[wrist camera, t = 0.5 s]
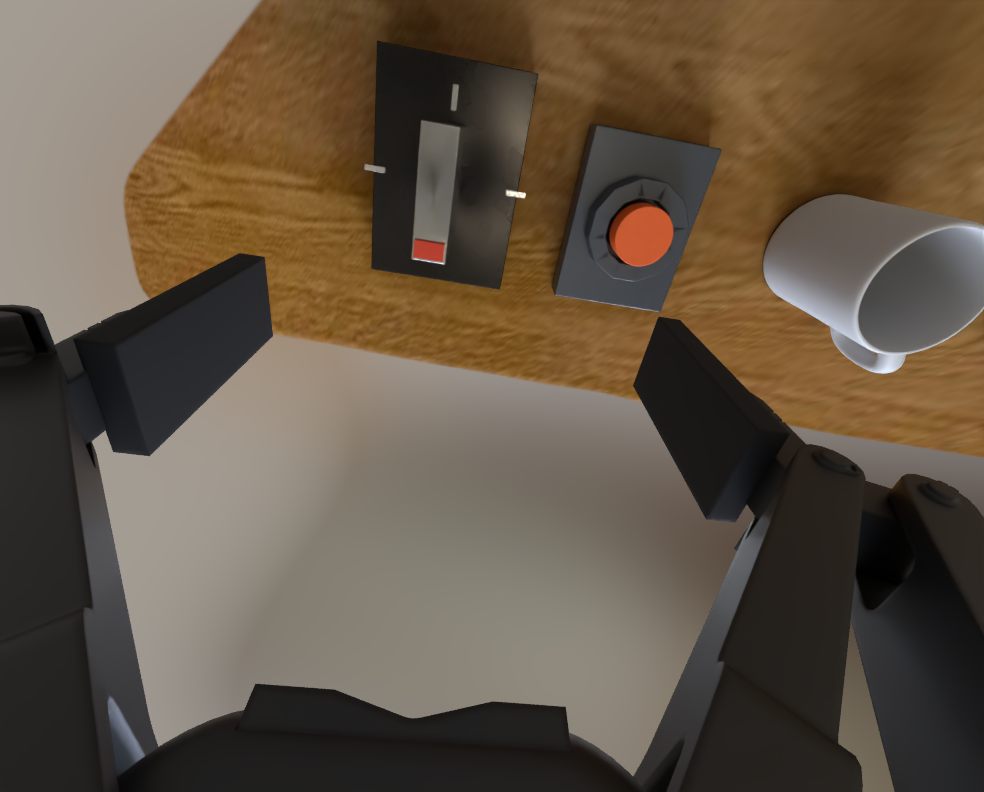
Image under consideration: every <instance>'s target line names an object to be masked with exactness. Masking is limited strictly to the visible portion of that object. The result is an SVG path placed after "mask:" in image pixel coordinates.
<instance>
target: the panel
mask: <svg viewBox="0 0 984 792" xmlns="http://www.w3.org/2000/svg"><path fill="white" fill-rule="evenodd" d="M537 79H538V74H537V73H532V72H528V71H523V70H518V69H513V68H508V67H503V66H498V65H493V64H489V63H484V62H479V61H474V60H469V59H464V58H459V57H454V56H450V55H445V54H440V53H435V52H430V51H425V50H420V49H415V48H411V47H406V46H401V45H396V44H391V43H386V42H381V41H377V64H376V105H375V145H374V165H369V164H364V170H369V171H374V186H373V227H372V267H371V268H372V269H375V270H382V271H388V272H394V273H400V274H406V275H413V276H419V277H425V278H431V279H437V280H444V281H450V282H456V283H462V284H469V285H475V286H481V287H487V288H493V289H500V286H501V281H502V275H503V269H504V264H505V258H506V252H507V247H508V241H509V236H510V230H511V224H512V219H513V213H514V208H515V202H516V197H519V198H525V196H526V193H524V192H519V191H518V185H519V180H520V174H521V168H522V163H523V157H524V152H525V146H526V140H527V135H528V129H529V124H530V118H531V112H532V107H533V101H534V96H535V90H536V84H537ZM421 120H438V121H444V122H449V123H454V124H459V125H465V126H467V133H466V142H465V150H464V159H463V167H462V176H461V185H460V193H459V202H458V210H457V219H456V227H455V235H454V238H453V241H452V245H451V248H450V251H449V254H448V257H447V260H446V263H445V264H438V263H432V262H425V261H419V260H413V259H411V253H412V238H413V224H414V210H415V196H416V181H417V167H418V153H419V138H420V124H421Z"/></svg>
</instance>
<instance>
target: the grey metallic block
mask: <svg viewBox="0 0 984 792" xmlns="http://www.w3.org/2000/svg"><path fill="white" fill-rule="evenodd" d="M466 133H467V126H465V125H459V124H454V123H449V122H444V121H438V120H421V124H420V138H419V153H418V167H417V181H416V196H415V210H414V224H413V238H412V253H411V259H413V260H419V261H425V262H432V263H438V264H445V263H446V260H447V257H448V254H449V251H450V248H451V245H452V241H453V238H454V235H455V227H456V219H457V210H458V202H459V193H460V185H461V176H462V167H463V159H464V150H465V142H466Z"/></svg>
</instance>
